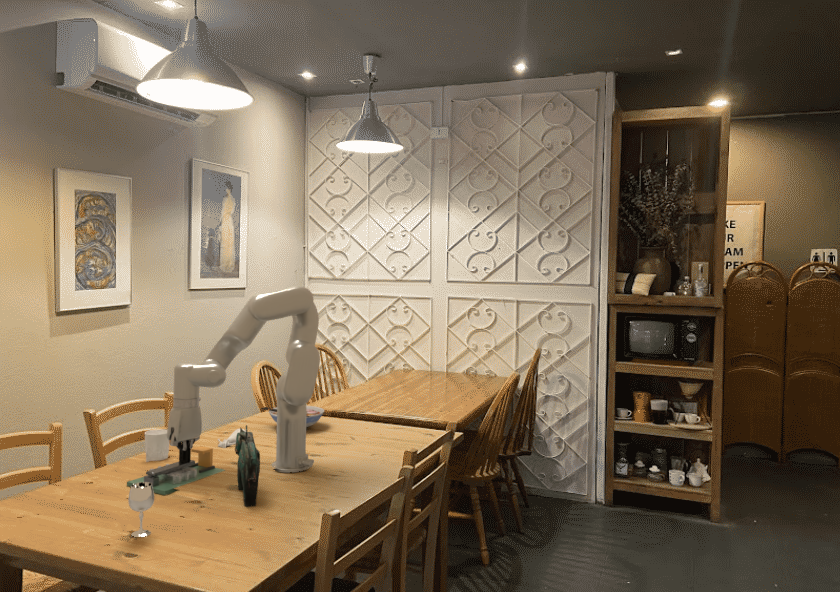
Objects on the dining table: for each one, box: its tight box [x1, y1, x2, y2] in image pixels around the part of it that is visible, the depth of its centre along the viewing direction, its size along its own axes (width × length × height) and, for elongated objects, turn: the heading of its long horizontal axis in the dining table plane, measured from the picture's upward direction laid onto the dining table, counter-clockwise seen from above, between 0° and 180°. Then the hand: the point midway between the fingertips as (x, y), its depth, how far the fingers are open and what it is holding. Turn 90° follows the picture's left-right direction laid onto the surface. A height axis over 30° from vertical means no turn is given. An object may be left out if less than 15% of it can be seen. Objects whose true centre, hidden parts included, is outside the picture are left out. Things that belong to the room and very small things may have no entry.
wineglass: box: [127, 482, 155, 538], centre depth 157 cm, size 6×6×12 cm
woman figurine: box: [217, 428, 246, 449], centre depth 242 cm, size 12×4×18 cm
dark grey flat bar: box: [145, 459, 196, 477], centre depth 196 cm, size 4×16×1 cm, turn 153°
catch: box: [191, 446, 214, 467], centre depth 207 cm, size 5×4×6 cm
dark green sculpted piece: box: [234, 424, 261, 508], centre depth 185 cm, size 20×6×20 cm, turn 21°
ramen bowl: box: [260, 405, 325, 428], centre depth 269 cm, size 25×23×8 cm
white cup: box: [144, 428, 170, 463], centre depth 217 cm, size 8×8×10 cm
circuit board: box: [126, 461, 226, 496], centre depth 198 cm, size 16×24×2 cm, turn 153°
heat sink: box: [143, 463, 197, 487], centre depth 195 cm, size 12×14×2 cm
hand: (184, 461), depth 201 cm, fingers closed
